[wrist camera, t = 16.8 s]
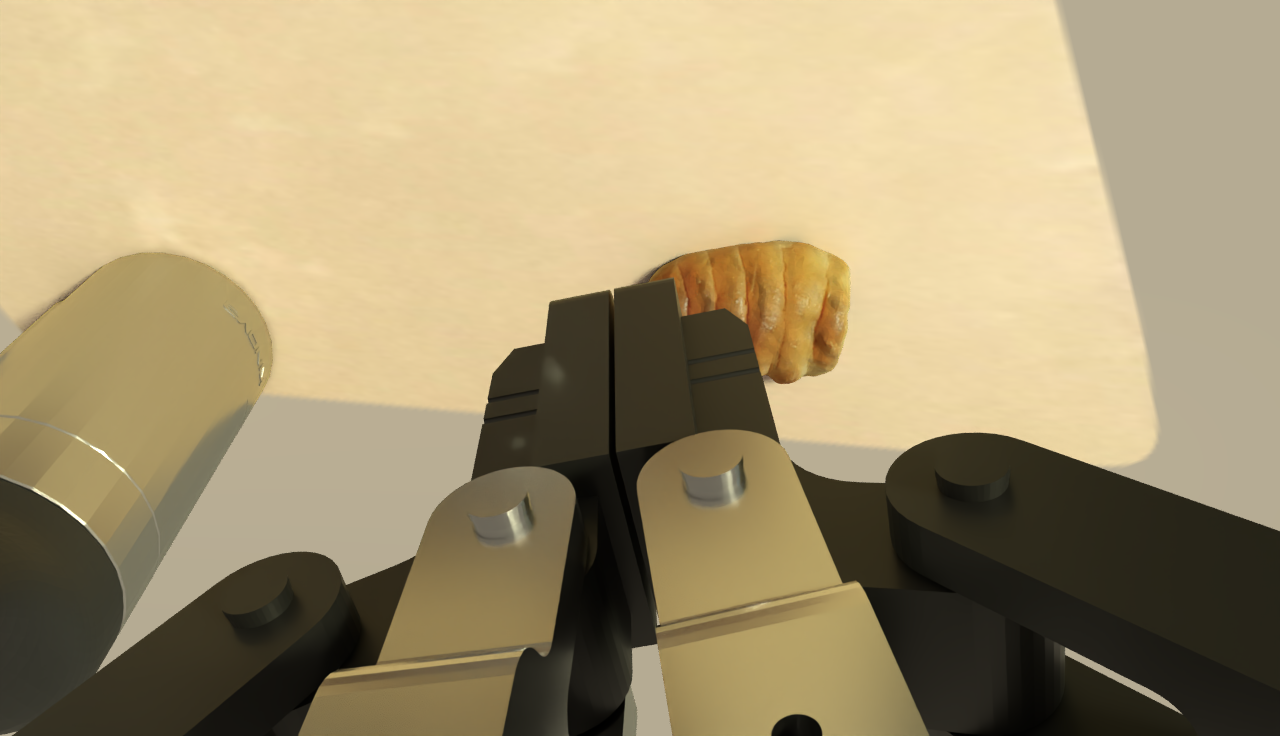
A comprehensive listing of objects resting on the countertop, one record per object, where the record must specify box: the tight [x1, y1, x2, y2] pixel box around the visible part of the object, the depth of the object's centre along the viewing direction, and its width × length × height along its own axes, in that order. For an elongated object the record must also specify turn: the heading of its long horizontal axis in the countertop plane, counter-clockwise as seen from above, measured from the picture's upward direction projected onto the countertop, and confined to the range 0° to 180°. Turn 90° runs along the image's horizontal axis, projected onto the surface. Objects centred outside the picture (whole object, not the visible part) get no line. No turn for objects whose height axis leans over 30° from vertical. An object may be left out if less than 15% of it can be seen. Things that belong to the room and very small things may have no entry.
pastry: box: [649, 240, 851, 384], centre depth 47 cm, size 9×7×4 cm
